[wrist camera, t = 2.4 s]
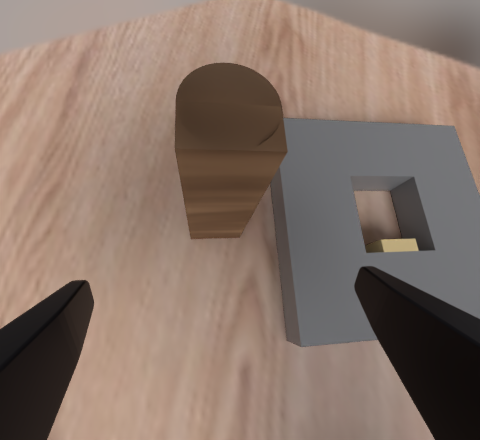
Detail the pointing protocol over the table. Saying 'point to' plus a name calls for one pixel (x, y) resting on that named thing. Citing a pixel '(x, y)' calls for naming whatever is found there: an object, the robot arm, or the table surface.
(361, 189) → the hub plate
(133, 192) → the table surface
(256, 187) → the walnut peg
